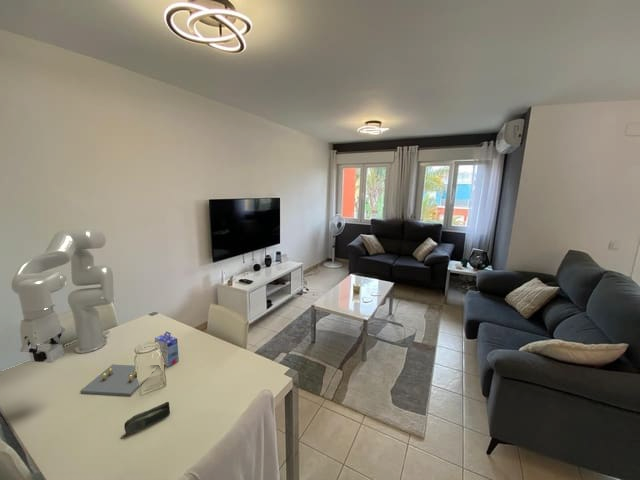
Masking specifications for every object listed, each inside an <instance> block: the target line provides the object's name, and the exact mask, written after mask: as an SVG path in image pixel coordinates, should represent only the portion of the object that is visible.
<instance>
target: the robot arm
mask: <svg viewBox="0 0 640 480" xmlns="http://www.w3.org/2000/svg"><path fill="white" fill-rule="evenodd" d="M106 241H107V240H106V237H105V234H104V233H102V232H101V231H98V230H94V229H66V230H65V229H64V230H60V231H57V232H56V233H55V234H54V235H53V238H52V239H51V240H50V243H49V245H48V247H47V248H46V250H45V252H43V253H41V254H39V255H37V256H35V257H33V258H32V259H30V260H27V261H26V262H24V263H22V265H21V266H20V267H19V268H18V269H17V271H16V272H15V274H14V276H13V279H11V280H12V281H11V290H12V291H13V292H14V293H16V294H17V295H18V298H19V303H20V307H21V312H22V313H21V314H22V317H23V319H22V320H21V321H20V329H19V330H20V331H19V332H20V334H19V335H20V341H21V342H20V343H21V348H20V350H19V352H21V353H29V352H30V353H33V357H34V360H35V362H34V363H44V362H43V361H44V360H45V359H44V355H43V351H41V344H42V343H45V342H47V341H49V342H48V344H59V343H60V340H61V339H60V338H61V337H62V335H63V333H64V332H65V330H66V328H65V327H63V326H62V325H61V322H60V319H59V316H58V314H57V312H56V311H55V310H54V307H55V305H56V304H55V303H54V302H52V297H51V294H53V293H55V292H58V291H60V290H62V289H63V288H65V286H66V284H67V282H68V278H67V276H66V274H65V273H63V272H61V271H59V272H58V271H49V270H51V269H55V268H59V267H60V266H63V265H66V264H68V263H71V264H70V265H71V269H70V270H71V282H72V284H73V285H74V286H76V287H83V288H78V289H75V290H73V291H71V292H70V293H69V294H68V296H67V303H68V305H69V307H70V309H71V312H72V316H73V322H74V328H75V333H76V339H77V345H76V346H75V347H74V352H75V353H76V354H87V353H91V352H94V351H97V350H99V349H101V348H103V347H105V345H106V344H107V343H108V341H107V338H106V336H107V335H109V334H110V330H109V329H107V330H105V331H104V332H103V331H102V328H101V326H102V325H101V319H100V314H99V311H98V309H97V308H96V307H99V306H107V305H110V304H112V302H113V301H114V297H115V296H114V294H115V292H114V290H115V289H114V274H113V270H112V268H111V267H110V266H108V265H95V261H94V260H95V259H94V255H93V254H92V253H91V252H90V251H89V250H93V249H94V250H95V249H101V248H104V247H105V245H106ZM45 271H47V272H45ZM48 271H49V272H48ZM94 285H95V286H96V285H100V286H97V287H87V286H94ZM84 286H86V288H84ZM35 347H36V349H35Z"/></svg>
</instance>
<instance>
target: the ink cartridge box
mask: <svg viewBox="0 0 640 480" xmlns="http://www.w3.org/2000/svg"><path fill="white" fill-rule="evenodd" d="M171 334H172V333H171V332H169V331H167V330H166V331H165V333H163V334H160V335H159V336H156V337H155V338H154V344H155V343H156V342H158V343H159V344H160V349H161V352H162V356H163V359H164V363H165V366H166V367H168V368H169V367H171V366H172V365H174V364H177V363H178V362H179V361H180V360H179V359H180V358H179V346H178V345H179V344H178V338H177V337H175V336H172V335H171Z"/></svg>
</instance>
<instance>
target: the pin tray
mask: <svg viewBox="0 0 640 480" xmlns="http://www.w3.org/2000/svg"><path fill="white" fill-rule="evenodd" d="M135 366H136V365H133V364H132V365H129V364H116V363H115V364H111V365H110V366H109V367H108V368H106V369H105V370H104V371H102V373H100V374H99V375H98V376H96V378H94V379H93V380H92V381H90V382H89V383H88V384H87V385H85V386H84V387H83V388H81V390H80V391H79V392H80V394H89V395H105V396H107V395H108V396H121V397H123V396H124V397H132V395H134V393H136V391H138V390H139V388H140V387H139V382H138V380H137V372H136V369H135Z"/></svg>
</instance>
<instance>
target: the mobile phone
mask: <svg viewBox="0 0 640 480" xmlns="http://www.w3.org/2000/svg"><path fill="white" fill-rule="evenodd" d="M170 409H171V408H170V402H169V401H166V402H164V403H161V404H159V405H157V406H154V407H152V408H150V409H148V410H145V411H143V412H140V413H137V414H135V415H133V416H132V417H131V418H129V419H127V420H126V421H125V423H124V425H123V426H124V427H123V428H124V431H125V433H124V434H123V435H121V436H120V439H124V438H125V437H127V436H129V435H131V434H133V433H136V432H137V431H140V430H142V429H143V428H146V427H148V426H151V425H152V424H155V423H157V422H159V421H160V420H163V419H165V418H167V417H168V416H169V415H170V413H171V411H170Z"/></svg>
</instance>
